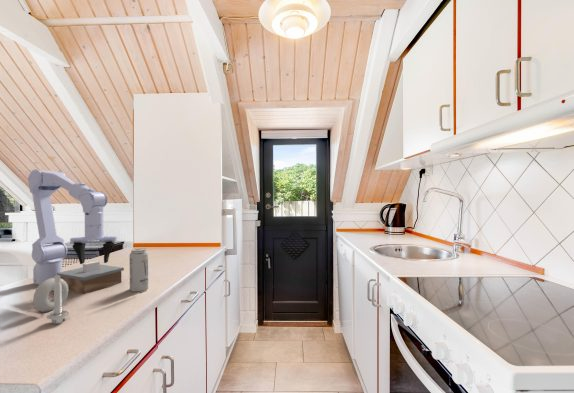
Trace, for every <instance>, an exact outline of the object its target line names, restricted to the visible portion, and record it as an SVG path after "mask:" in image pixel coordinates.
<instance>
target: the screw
mask: <svg viewBox="0 0 574 393" xmlns="http://www.w3.org/2000/svg"><path fill="white" fill-rule="evenodd" d="M54 279H55V284H54V287H53V288H54V289H53V298H52V299H54V300H53V301H54V310H53V311H52V312H50V313H49V314H48V315H46V319H47V320H51V324H52V325H58V324H61V323H64V321H65V319H64V318H65V317H67V316H69V315H70V313H69V311H68V310H62V309H63V305H62V304H61V303H62V302H61V301H62V300H61V299H62V298H61V297H62V295H61V294H62V293H61V292H62V291H61V290H62V289H61V288H62V287H61V286H62V285H61V283H60V276H59V275H56V276H55V278H54ZM61 305H62V306H61Z"/></svg>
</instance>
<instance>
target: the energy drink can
mask: <svg viewBox="0 0 574 393" xmlns="http://www.w3.org/2000/svg"><path fill="white" fill-rule="evenodd" d="M148 289H149V252H148V251H147V248H143V247H141V248H134V249H131V251H130V253H129V291H131V292H139V294H142V293H145V292H147V290H148Z"/></svg>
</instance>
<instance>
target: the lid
mask: <svg viewBox="0 0 574 393" xmlns="http://www.w3.org/2000/svg"><path fill="white" fill-rule="evenodd" d="M124 270H125V267H121V266H115V265H113V266H112V265H106V264H101V263H100V261H97V260H96V261H95V260H94V261H91V262H86V263H85V262H84V263H83V264H82V267H79V268H74V269H69V270H65V271H62V272H59V273H57V275H59V276H60V277H66V278H72V279H78V280H88V279H92V278H96V277H100V276H104V275H107V274H111V273H115V272H119V271H121V272H123V271H124Z"/></svg>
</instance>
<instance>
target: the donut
mask: <svg viewBox="0 0 574 393" xmlns="http://www.w3.org/2000/svg"><path fill="white" fill-rule="evenodd" d="M60 283H61V285H62V286H61V287H62V288H61V289H62V290H61V291H62V292H61V293H62V294H61V295H62V297H61V298H62V299H61V300H62V301H61V302H62V303H61V304H62V305H61V306H62V307H63V305H64V304H65V302H66V300H67V299H68V296H69V289H68V285H67V283H66V282H65V281H64V280H63V279H60ZM54 284H55V279H54V278H50V279H48V280H45V281H44V282H43V283H41V284H40V285H38V287H37V288H36V289H35V291H34V294H33V300H32V301H33V305H34V307H35V309H36V310H38V311H39V312H41V313H49V312H53V311H54V301H53V300H54V299H53V298H52V299H50V300H49V294H50V293H51V292H52V291H53V290H54V288H53V287H54Z"/></svg>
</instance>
